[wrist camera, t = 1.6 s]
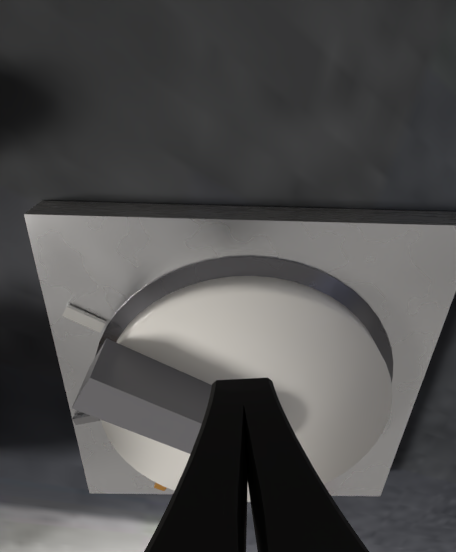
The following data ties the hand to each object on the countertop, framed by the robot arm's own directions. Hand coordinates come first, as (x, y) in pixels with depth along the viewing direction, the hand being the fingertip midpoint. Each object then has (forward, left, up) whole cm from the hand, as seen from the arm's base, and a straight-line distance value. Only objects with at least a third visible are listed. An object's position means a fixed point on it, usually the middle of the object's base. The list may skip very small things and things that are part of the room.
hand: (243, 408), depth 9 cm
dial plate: (-1, +5, -8) cm, 9 cm away
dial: (0, +5, -6) cm, 8 cm away
